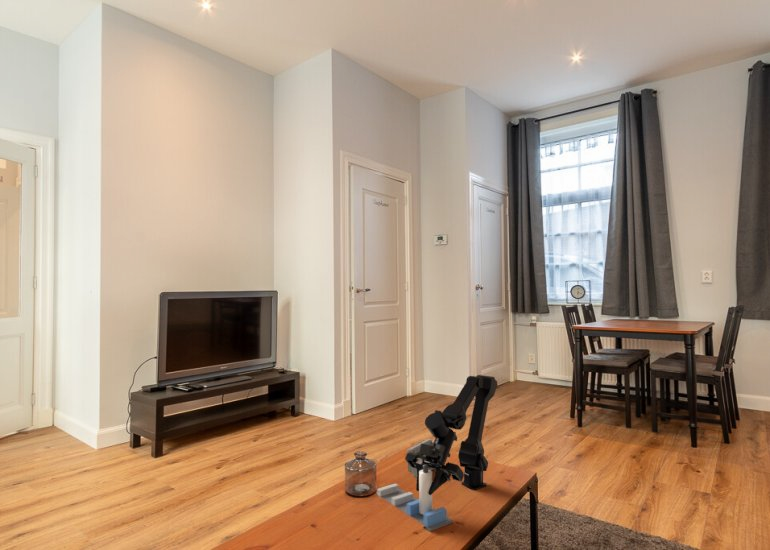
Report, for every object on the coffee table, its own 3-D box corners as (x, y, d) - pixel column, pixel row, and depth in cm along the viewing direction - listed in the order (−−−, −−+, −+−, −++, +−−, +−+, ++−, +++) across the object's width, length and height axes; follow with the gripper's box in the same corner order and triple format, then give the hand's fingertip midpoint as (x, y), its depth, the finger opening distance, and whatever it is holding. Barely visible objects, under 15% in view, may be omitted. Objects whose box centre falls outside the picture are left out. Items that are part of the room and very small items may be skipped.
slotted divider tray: (396, 489, 164) (396, 477, 164) (452, 522, 141) (452, 509, 141) (375, 495, 159) (375, 484, 159) (429, 531, 136) (429, 517, 136)
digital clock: (416, 481, 171) (416, 451, 171) (399, 473, 177) (399, 445, 178) (445, 469, 182) (445, 441, 182) (428, 462, 188) (428, 436, 188)
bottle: (421, 507, 145) (421, 462, 146) (434, 510, 144) (434, 464, 144) (417, 513, 142) (417, 466, 142) (429, 516, 140) (429, 468, 140)
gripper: (407, 426, 152) (387, 472, 143) (459, 438, 141) (439, 488, 132) (421, 444, 158) (402, 489, 149) (471, 457, 147) (454, 506, 138)
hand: (423, 492), depth 142 cm, fingers closed on bottle, 4 cm apart
